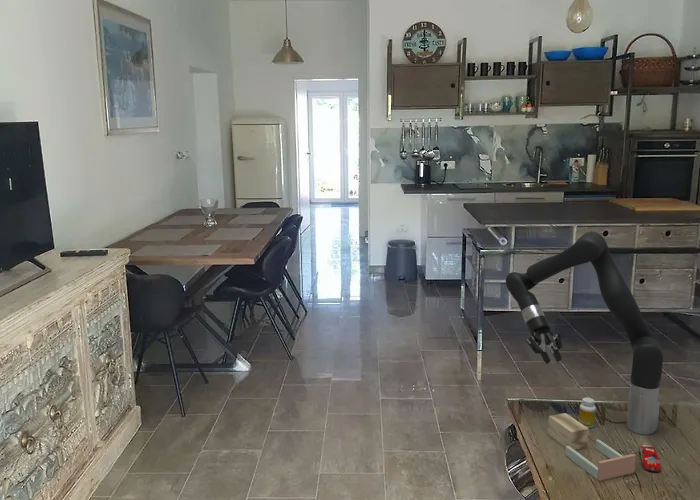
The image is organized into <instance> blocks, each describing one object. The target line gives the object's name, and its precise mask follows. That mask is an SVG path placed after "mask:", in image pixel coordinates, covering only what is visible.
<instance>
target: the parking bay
mask: <svg viewBox="0 0 700 500" xmlns="http://www.w3.org/2000/svg"><path fill="white" fill-rule="evenodd" d="M595 449H596V450H597V451H599V453H601V454H603V455H604V456H606V457H607V458H608V459H603V460H600V461H597V463H598V464H597V466H596V465H595V464H594V463H592V462H591V461H590V460H589V459H587V458H586V457H584V456H583V455H582V454H581V453H579V452H578V451H576V450H574V449H572V448H571V447H570V446H566V447H565V453H564V455H565V456H566V457H567V458H569V460H571V461H573V462H574V463H575V464H576V465H578V466H579V467H581V469H583V470H584V471H585V472H587V474H589V475H590V476H592V477H593V478H595V479H596V480H598V481H599V482H601V481H606V480H610V479H614V478H618V477H622V476H627V475H630V474H634V473H635V471H636V470H635V469H636V467H635V466H636V456H637V455H636V454H634V453H632V454H631V453H630V454H626V455H622V454H621V453H619V452H618V451H616V450H615V449H613V448H612V447H610V446H609V445H607V444H606V443H605V442H603V441H601V440H600V439H596V440H595Z"/></svg>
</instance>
